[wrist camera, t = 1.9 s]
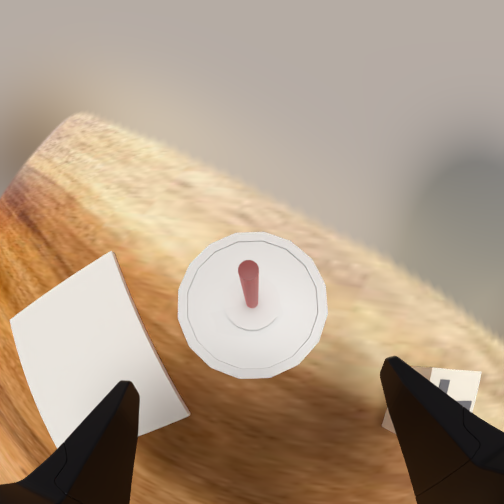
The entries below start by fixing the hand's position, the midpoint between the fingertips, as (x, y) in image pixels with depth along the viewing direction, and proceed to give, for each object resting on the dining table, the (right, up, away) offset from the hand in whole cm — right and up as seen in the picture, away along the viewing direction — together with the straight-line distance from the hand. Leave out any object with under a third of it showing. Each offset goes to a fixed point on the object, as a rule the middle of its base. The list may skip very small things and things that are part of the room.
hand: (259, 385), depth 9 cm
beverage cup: (0, 0, +11) cm, 11 cm away
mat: (-14, -5, +10) cm, 18 cm away
